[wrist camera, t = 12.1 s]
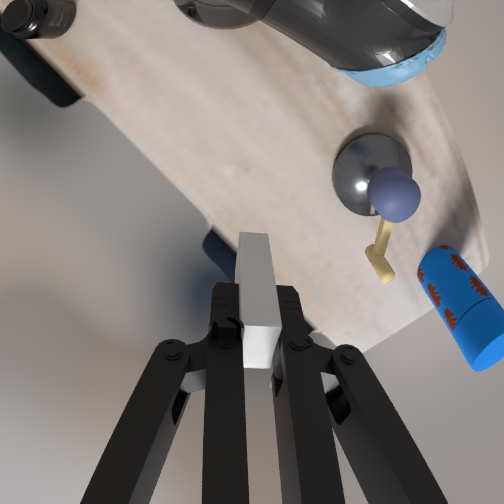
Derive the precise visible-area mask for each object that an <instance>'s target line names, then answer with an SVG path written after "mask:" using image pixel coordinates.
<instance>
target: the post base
mask: <svg viewBox="0 0 504 504" xmlns="http://www.w3.org/2000/svg"><path fill="white" fill-rule="evenodd" d="M385 167H395V168H398V169H400V170H401V171H402V172H404V173H405V174H406V175H408V176H409V177H410V178H411V179H412V164H411V160H410V157H409V155H408V153H407V151H406V150H405V148H404V147H403V146H402V145H401V144H400V143H399V142H397V141H396V140H394V139H392V138H390V137H388V136H386V135H383V134H377V133H369V134H364V135H361V136H359V137H357V138H355V139H353V140H351V141H350V142H349V143H348V144H346V145H345V146H344V148H343V149H342V150H341V151H340V153H339V154H338V156H337V158H336V160H335V163H334V167H333V172H332V181H333V187H334V190H335V192H336V194H337V196H338V198H339V199H340V201H341V202H342V203H343V204H344V206H345V207H347V208H348V209H349V210H350V211H352V212H354V213H356V214H359V215H363V216H376V215H380V214H379V213H378V212H377V211H376V209H375V208H374V207H373V206H372V205H371V203H370V202H369V200H368V197H367V186H368V183H369V181H370V179H371V177H372V176H373V175H374V174H375V173H376V172H377V171H379V170H380V169H382V168H385Z"/></svg>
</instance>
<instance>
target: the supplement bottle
mask: <svg viewBox="0 0 504 504" xmlns="http://www.w3.org/2000/svg"><path fill="white" fill-rule="evenodd" d="M74 18H75V8H74V6H73V4H72V3H71V2H70V1H68V0H14V1H12V2H11V3H9V5H7V7H6V8H5V10H4V12H3V14H2V17H1V27H2V29H3V30H4V31H5V32H8V33H10V32H12V33H13V34H14V35H15V36H16V37H17V38H19V39H53V38H57V37H60V36H62V35H63V34H64V33H65V32H67V31H68V29H69V28H70V27H71V25H72V23H73V21H74Z"/></svg>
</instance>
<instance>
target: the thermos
mask: <svg viewBox="0 0 504 504" xmlns="http://www.w3.org/2000/svg"><path fill="white" fill-rule="evenodd" d="M417 275H418V279H419V281H420V283H421V285H422V287H423V288H424V290H425V292H426V294H427V295H428V297H429V298H430V300H431V301H432V303H433V304H434V306H435V308H436V309H437V311H438V312H439V314H440V316H441V317H442V319H443V320H444V322H445V323H446V325H447V327H448V329H449V330H450V332H451V334H452V335H453V337H454V339H455V340H456V342H457V344H458V346H459V348H460V349H461V351H462V353H463V354H464V356H465V358H466V360H467V362H468V363H469V365H470V366H471V367H472V369H473V370H474V371H482V370H484V369H487V368H488V367H490V366H492V365H494V364H495V363H497V362H498V361H499V360H500V359H502V357H504V310H503V308H502V307H501V306H500V304H499V303H498V302H497V300H496V299H495V298H494V296H493V295H492V294H491V293H490V292H489V290H488V289H487V287H486V286H485V285H484V284H483V282H482V281H481V280H480V279H479V278H478V276H477V275H476V274H475V273H474V272H473V270H472V269H471V268H470V267H469V266H468V264H467V263H466V262H465V261H464V260H463V259H462V258H461V257H460V256H459V255H458V254H457V253H456V252H455V251H454V250H453V249H452V248H450V247H448V246H440V247H438V248H436V249H433V250H432V251H431V252H429V253H428V254H427V255H426V256H425V257H424V259H423V260H422V261H421V263H420V266H419V268H418V274H417Z"/></svg>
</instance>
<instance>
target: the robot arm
mask: <svg viewBox="0 0 504 504" xmlns="http://www.w3.org/2000/svg"><path fill="white" fill-rule="evenodd" d="M173 1H174V3H175V4H176V6H177V7H178V8H179V10H180V11H181V12H182V13H183V14H184V15H185V16H186V17H188V18H189V19H190V20H192V21H194V22H195V23H198V24H200V25H202V26H205V27H209V28H214V29H236V28H241V27H244V26H248V25H250V24H253V23H255V22H257V21H259V20H261V22H263V23H265V24H267V25H269V26H271V27H272V28H274V29H276V30H277V31H279V32H281V33H283V34H284V35H286V36H288V37H289V38H291V39H293V40H294V41H296V42H297V43H299V44H301V45H302V46H304V47H305V48H307V49H308V50H310V51H311V52H313V53H314V54H316V55H317V56H319V57H320V58H322V59H323V60H325V61H326V62H328V64H329V65H330V66H331V67H333V68H335V69H336V70H337V71H340V72H343V73H345V74H347V75H348V76H350V77H351V78H353V79H354V80H355V81H357V82H359V83H360V84H363V85H365V86H369V87H388V86H392V85H396V84H399V83H402V82H404V81H406V80H408V79H410V78H412V77H414V76H416V75H417V74H419V73H420V72H422V71H423V70H424V69H426V68H427V63H428V62H429V61H431V60H435V59H436V58H437V57H438V56H439V54H440V53H441V52H442V50H443V48H444V45H445V43H446V29H445V27H447V26H449V25H450V24H451V23H452V21H453V4H454V2H455V0H173ZM262 19H263V20H262ZM272 363H273V373H272V377H271V380H270V383H269V388H271V387H272V391H273V402H274V413H275V423H276V435H277V446H278V457H279V469H280V480H281V492H282V503H283V504H345V499H344V493H343V487H342V481H341V475H340V470H339V464H338V458H337V453H336V447H335V442H334V437H333V431H332V428H333V430H334V432H335V434H336V436H337V438H338V440H339V442H340V445H341V446H342V449H343V451H344V453H345V455H346V457H347V459H348V461H349V463H350V465H351V468H352V470H353V472H354V474H355V476H356V478H357V480H358V482H359V484H360V487H361V489H362V490H363V493H364V495H365V497H366V499H367V501H368V503H369V504H448V502H447V500H446V498H445V497H444V495H443V493H442V491H441V489H440V487H439V485H438V483H437V482H436V480H435V478H434V476H433V474H432V472H431V471H430V469H429V467H428V466H427V463H426V462H425V460H424V458H423V456H422V454H421V453H420V451H419V449H418V447H417V445H416V444H415V442H414V440H413V438H412V437H411V435H410V433H409V431H408V430H407V428H406V426H405V425H404V423H403V421H402V420H401V418H400V416H399V414H398V413H397V411H396V409H395V407H394V406H393V404H392V402H391V401H390V399H389V397H388V396H387V394H386V392H385V391H384V389H383V387H382V386H381V384H380V382H379V381H378V379H377V377H376V376H375V374H374V372H373V371H372V369H371V367H370V366H369V364H368V362H367V361H366V359H365V358H364V356H363V354H362V353H361V352H360V351H359V349H357V348H356V347H354V346H352V345H348V344H344V345H340V346H337V347H336V348H335V350H332V349H328V348H325V347H321V346H319V345H317V344H315V343H314V342H313V340H312V338H311V337H310V336H308V334H307V330H306V325H305V321H304V316H303V312H302V307H301V303H300V298H299V294H298V292H297V291H296V290H295V289H294V287H293V286H282V285H276V283H275V277H274V270H273V264H272V257H271V251H270V245H269V238H268V234H262V233H249V232H240V233H239V242H238V252H237V261H236V270H235V283H222V282H217V284H216V285H215V287H214V288H213V290H212V303H211V316H210V324H209V333H208V335H207V336H206V337H205V338H204V339H203V340H201V341H200V342H197V343H193V344H188V345H186V344H185V343H184V342H182V341H180V340H176V339H169V340H165V341H163V342H161V343H159V344H158V346H157V347H156V348H155V350H154V352H153V354H152V356H151V358H150V360H149V362H148V364H147V366H146V368H145V369H144V371H143V373H142V375H141V377H140V379H139V381H138V383H137V385H136V387H135V389H134V391H133V393H132V395H131V397H130V399H129V401H128V403H127V405H126V407H125V409H124V411H123V413H122V415H121V417H120V419H119V421H118V423H117V426H116V427H115V429H114V431H113V434H112V436H111V438H110V440H109V442H108V444H107V446H106V448H105V450H104V453H103V454H102V456H101V459H100V461H99V463H98V465H97V467H96V470H95V472H94V474H93V476H92V478H91V480H90V483H89V485H88V487H87V489H86V491H85V493H84V496H83V498H82V500H81V502H80V504H149V502H150V500H151V497H152V494H153V492H154V489H155V486H156V483H157V481H158V478H159V476H160V473H161V470H162V468H163V465H164V462H165V460H166V457H167V455H168V452H169V449H170V447H171V444H172V441H173V439H174V436H175V433H176V430H177V428H178V426H179V423H180V420H181V418H182V415H183V412H184V410H185V407H186V405H187V402H188V400H189V397H190V394H191V392H194V391H199V390H203V389H205V411H204V436H203V470H202V504H249V486H248V464H247V441H246V417H245V393H244V368H271V365H272Z"/></svg>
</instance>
